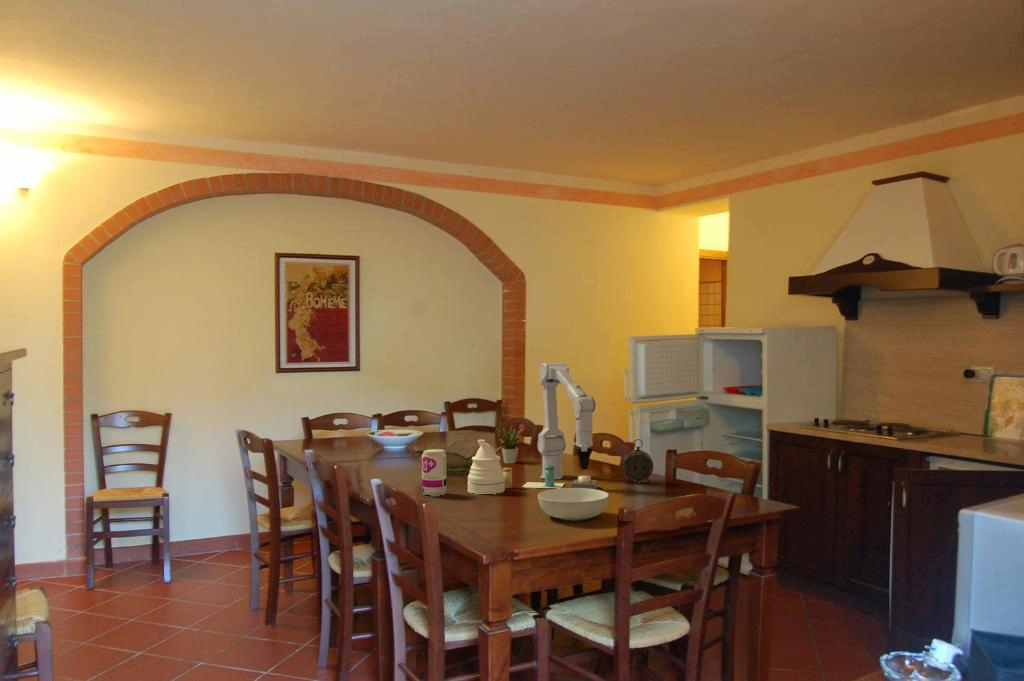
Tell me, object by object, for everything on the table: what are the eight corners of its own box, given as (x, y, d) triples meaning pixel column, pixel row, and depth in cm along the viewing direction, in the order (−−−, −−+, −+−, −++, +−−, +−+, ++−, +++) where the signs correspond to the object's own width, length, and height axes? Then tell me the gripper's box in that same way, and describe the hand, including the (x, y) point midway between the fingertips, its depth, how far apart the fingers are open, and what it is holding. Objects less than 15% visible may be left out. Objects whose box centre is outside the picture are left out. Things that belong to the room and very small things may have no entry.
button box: (574, 486, 269) (574, 479, 269) (597, 486, 267) (596, 480, 267) (571, 490, 261) (571, 483, 261) (594, 491, 259) (594, 484, 259)
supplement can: (434, 497, 250) (434, 452, 250) (417, 494, 255) (417, 450, 255) (451, 493, 256) (451, 450, 256) (433, 491, 261) (433, 448, 261)
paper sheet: (527, 482, 276) (527, 481, 276) (564, 484, 273) (564, 483, 273) (521, 487, 266) (521, 487, 266) (560, 489, 263) (560, 488, 263)
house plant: (485, 464, 319) (485, 426, 319) (496, 459, 332) (496, 422, 333) (517, 465, 315) (517, 427, 315) (527, 460, 328) (527, 423, 328)
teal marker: (545, 485, 269) (545, 465, 269) (555, 485, 269) (554, 465, 269) (544, 486, 266) (544, 467, 266) (553, 487, 265) (553, 467, 265)
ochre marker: (504, 487, 268) (503, 467, 268) (513, 487, 267) (512, 467, 267) (501, 488, 265) (501, 468, 265) (511, 489, 264) (510, 469, 264)
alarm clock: (652, 482, 276) (652, 438, 276) (653, 484, 271) (653, 440, 271) (622, 481, 277) (622, 438, 277) (623, 484, 272) (623, 439, 272)
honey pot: (482, 496, 252) (482, 443, 252) (460, 490, 262) (460, 439, 262) (512, 491, 260) (511, 439, 260) (489, 486, 270) (489, 436, 270)
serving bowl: (564, 506, 236) (564, 484, 236) (622, 516, 222) (622, 493, 222) (523, 518, 219) (523, 495, 219) (582, 529, 206) (582, 504, 206)
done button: (579, 483, 267) (579, 475, 267) (591, 484, 266) (591, 475, 266) (577, 486, 263) (577, 477, 263) (589, 486, 262) (589, 478, 262)
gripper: (573, 428, 272) (573, 465, 272) (572, 432, 258) (572, 472, 257) (592, 428, 271) (592, 465, 271) (593, 433, 257) (593, 472, 257)
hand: (584, 469), depth 264 cm, fingers closed
